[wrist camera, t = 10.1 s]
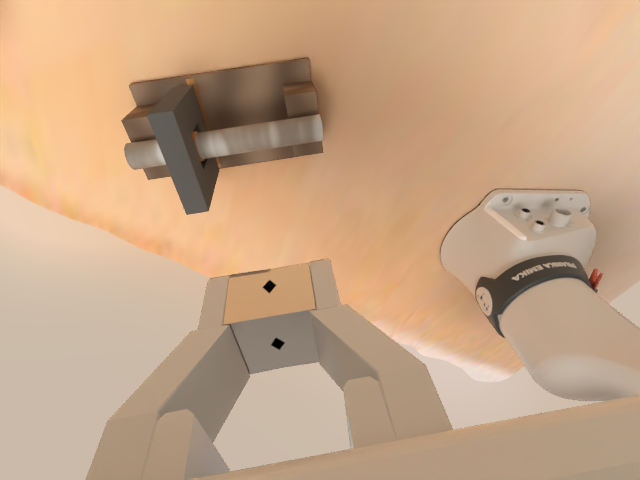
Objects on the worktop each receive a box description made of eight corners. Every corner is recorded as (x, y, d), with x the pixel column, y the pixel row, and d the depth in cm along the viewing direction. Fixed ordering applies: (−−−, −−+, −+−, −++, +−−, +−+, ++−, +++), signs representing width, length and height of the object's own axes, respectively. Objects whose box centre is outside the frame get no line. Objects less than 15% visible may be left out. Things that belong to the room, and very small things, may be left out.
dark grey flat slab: (193, 84, 33) (172, 110, 26) (219, 169, 39) (208, 211, 32) (172, 87, 33) (146, 114, 26) (201, 172, 39) (186, 214, 32)
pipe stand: (307, 57, 36) (317, 73, 29) (318, 149, 42) (328, 180, 35) (131, 83, 35) (99, 105, 28) (168, 173, 41) (149, 209, 34)
